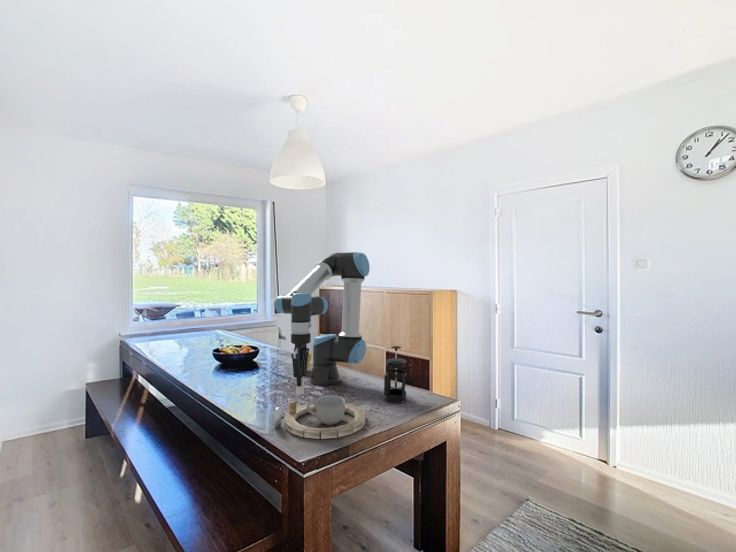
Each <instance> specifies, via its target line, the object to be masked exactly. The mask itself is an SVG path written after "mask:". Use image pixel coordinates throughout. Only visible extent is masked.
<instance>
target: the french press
mask: <svg viewBox="0 0 736 552" xmlns="http://www.w3.org/2000/svg"><path fill="white" fill-rule="evenodd" d="M391 349H394V351H395V358H394V357H393V358H387V359H385V362H386V367H388V368H392V369H388V370H386V371H385V374H384V379H383V382H384V384H383V386H384V387H383V391H384V392H383V394H384V395H383V396H385V397H384V400H385V401H386V400H387V401H389V402H388V403H390V402H402V401H406V400H407V391H406V386H407V385H406V377H407V370H403V369H402V368H405V367H406V363H407V362H408V361H407V360H406V359H404V358H397V356H398V355H397V354H398V349H402V347H401V346H398V345H393V346H391ZM392 373H400V374H392ZM393 378H394V379H400V382H399V381H392V379H393ZM387 401H386V402H387ZM406 402H407V401H406Z"/></svg>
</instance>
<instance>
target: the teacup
mask: <svg viewBox="0 0 736 552" xmlns="http://www.w3.org/2000/svg"><path fill="white" fill-rule="evenodd" d="M345 403H346V400H345V398H344V397H341V396H338V395H322V396H320V397H318V398H317V399H316V400H315V401H314V400H311V401H309V402H307V403H306V404H307V410H308V412H309V413H310V414H311V415H313V416H314V417H315V418H316V419H317V420H318V421H319V422H320V423H321V424H323V425H326V426H332V425H336V424H338V423H339V422H341V421H342V420H343V419H344V418H345V417H344V416H345V412H344V411H345ZM311 404H313V405H314V406H315V408H316V411H312V410H311V409H310V408H309V406H310V405H311Z"/></svg>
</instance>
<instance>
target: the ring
mask: <svg viewBox="0 0 736 552" xmlns="http://www.w3.org/2000/svg"><path fill="white" fill-rule="evenodd" d="M307 404H308V403H306V404H302V405H300V406H297V401H296V400H291V401H289V403H288V412H287V413H286V414H285V415H284V428H285V429H286V430H287V431H288V432H289V433H290V434H292V435H295V436H298V437H300V438H306V439H316V440H320V439H321V440H326V439H337V438H341V437H346V436H348V435H353V434H355V433H356V432H358V431H359V430H361V429H362V428H363V427H364V426H365V424H366V421H367V420H366V416H367V415H366V414H365V411H364V410H363V409H362V408H360V407H358V406H356V405H354V404H350V403H346V402H345V411H344V413H347V414H349V415H350V416H352V417H354V418H353V420H351V421H349V422H348V423H345V424H342V425H339V426H335V427H324V428H323V427H322V428H321V427H310V426H308V425H307V426H306V425H303V424H301V423H299V422H298V421H297V420H298V418H300V417H301V416H304V415H305V414H308V413H309V412H308V410H307ZM309 408H310V409H311V410H312V411H314V412H316V408H315V406H314V405H313V404H311V405H310V406H309Z"/></svg>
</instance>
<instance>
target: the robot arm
mask: <svg viewBox="0 0 736 552" xmlns="http://www.w3.org/2000/svg"><path fill="white" fill-rule="evenodd" d="M370 270H371V269H370V261H369V259H368V256H367V255H366V254H365V253H363V252H356V251H354V252H352V251H351V252H334V253H332V254H329V255H327V256H325V257H324V258H322V259H320V261H318V262H317V263H316V264H315V266H314V269H313V270H311V272H310V273H309V274H307V275H306V276H305V277H304V278H303V279H302V280H301V281H300V282H299V283H298V284H297V285H296V286H295V287H294V288H293V289H291V291H289V293H287V294H286V295H279V296H278V295H277V297H276V299H275V300H274V308H275V311H276V312H278V313H279V314H285V315H287V314H289V315H291V319H290V332H291V333H290V343H291V344H293V345H294V347H293V353H291V354H290V355H291V359H292V362H291V363H292V370H293V371H292V373H293V378H295V379H296V380H295V394H296V395H304V394H305V377H307V372H308V371H307V362H308V353H310V348H308V347H307V346H308V344H310V343H311V338H312V336H311V335H312V334H311V328H312V326H313V325H312V324H311V323H312V322H311V321H312V317H313V316H320V315H322V314H325V313H326V312H327V311H328V309H329V303H328V300H327V299H326V297H323V296H312V295H313V294H314V293H315V292H316V291H317V289H318V288H319V287H320V286H321V285H322V284H323V283H324V282H325V281H327V280H330V279H331V278H333V277H336V276H337V277H339V276H340V280H341V282H343V293H342V294H343V295H342V296H343V297H342V313H341V314H342V315H341V318H342V319H341V331H340V333H338V334H335V333H329V334H328V333H327V334H321V335H317V336H315V337H314V338H313V343H312V356H313V357H312V369H311V372H310V375H309V383H310V384H312V385H316V386H332V385H337V384H339V383H340V380H341V375H340V373H339V370H338V365H337V363H345V364H350V365H351V364H353V365H357V364H360V363H362V361H363V359H364V358H365V355H366V352H367V343H366V341H365V340H364V339H363V335H362V334H361V333H360V321H361V320H360V319H361V318H360V317H361V298H362V297H361V296H362V295H361V294H362V283H363V282H365V277H368V275H369V273H370ZM337 335H338V336H337Z"/></svg>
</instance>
